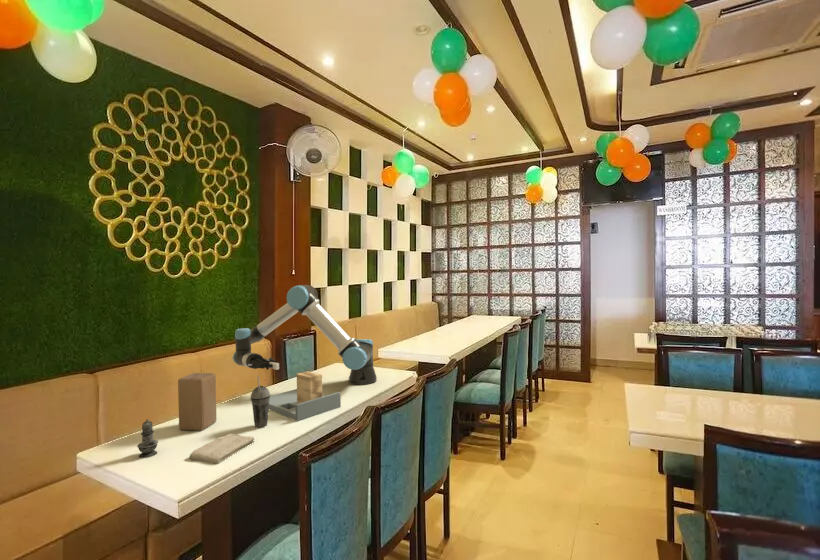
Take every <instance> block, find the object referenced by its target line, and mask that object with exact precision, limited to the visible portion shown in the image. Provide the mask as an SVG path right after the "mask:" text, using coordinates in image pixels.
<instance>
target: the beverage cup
mask: <svg viewBox="0 0 820 560" xmlns="http://www.w3.org/2000/svg"><path fill="white" fill-rule="evenodd" d="M257 385H258V386H256V387H255V388H254V389H253V390H252V392H251V394H250V400H251V405H252V413H253V423H254V427H255V428H256V427H257V429H262V428H261V427H263V428H265V426H266V427H267V426H268V421H269V409H268V408H269V400H270V396H271V393H270V390H269V389H268V387H266V386H264V385H260V376H259V375H257Z"/></svg>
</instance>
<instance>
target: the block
mask: <svg viewBox="0 0 820 560" xmlns="http://www.w3.org/2000/svg"><path fill="white" fill-rule="evenodd" d="M216 380H217V377H216V373H213V372H212V373H211V372H194V373H193V372H192V373H191V374H188V375H185V376H183V377H181V378H178V381H177V389H178V393H177V395H178V396H177V397H178V398H177V399H178V428H179V430H180V431H203V430H205V429H207V428H208V427H210V426H212V425H214V424H215V423H216V422H217V418H218V417H217V386H216V385H217V384H216V382H217V381H216Z"/></svg>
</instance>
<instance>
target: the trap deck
mask: <svg viewBox="0 0 820 560" xmlns="http://www.w3.org/2000/svg"><path fill="white" fill-rule="evenodd" d="M341 399H342V397H341V392H340V391H336V392H332V393H330V394H328V395H322V397H319V398H316V399H313V400H309V401H306V402H302V403H299V404H298V403H297V388H295V389H291V390H288V391H284V392H279V393H276V394H273V395H270V400H269V408H268V410H269V409H270V411H271V412H274V411H275V412H274V413H277V414H279V413H280V415H281V414H282V415H281V416H284V417H286V418H289V419H291V418H292V419H291V420H293V419H294V421H296V422H300V421H303V420H305V419H309V418H311V417H312V418H313V417H315V416H318V415H321V414H324V413H327V412H330V411H333V410H336V409H339V408H341V406H342V405H341V404H342V403H341V402H342V401H341Z"/></svg>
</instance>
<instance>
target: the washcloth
mask: <svg viewBox="0 0 820 560" xmlns="http://www.w3.org/2000/svg"><path fill="white" fill-rule="evenodd" d="M254 442H255V437H254V436H246V435H245V436H244V435H240V434H238V433H228V434H226V435H223V436H221V437H216V438H214V439H213V440H211V441H209V442H207V443H205V444H203V445H201V446H200V447H198V448H195V449H194V450H193V451H192V452H191V453H189V454H190V455H189V458H190V459H191V460H194V461H202V462H206V463H209V464H210V463H211V464H216V463H217V464H218V465H219V464H221V463H222V462H224V461H225V459H226V460H227V459H229V458H230V456H231V457H232V455H233V454H234V455H236V454H237V452H238V451H239V452H241V451H242V449H243V448H244V449H246V448H247V446H248V445H249V446H251V445H253V444H255V443H254ZM252 443H253V444H252ZM250 444H251V445H250ZM249 446H248V447H249ZM245 447H246V448H245ZM244 449H243V450H244ZM240 450H241V451H240ZM239 452H238V453H239ZM235 453H236V454H235ZM234 455H233V456H234ZM228 457H229V458H228ZM223 460H224V461H223Z"/></svg>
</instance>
